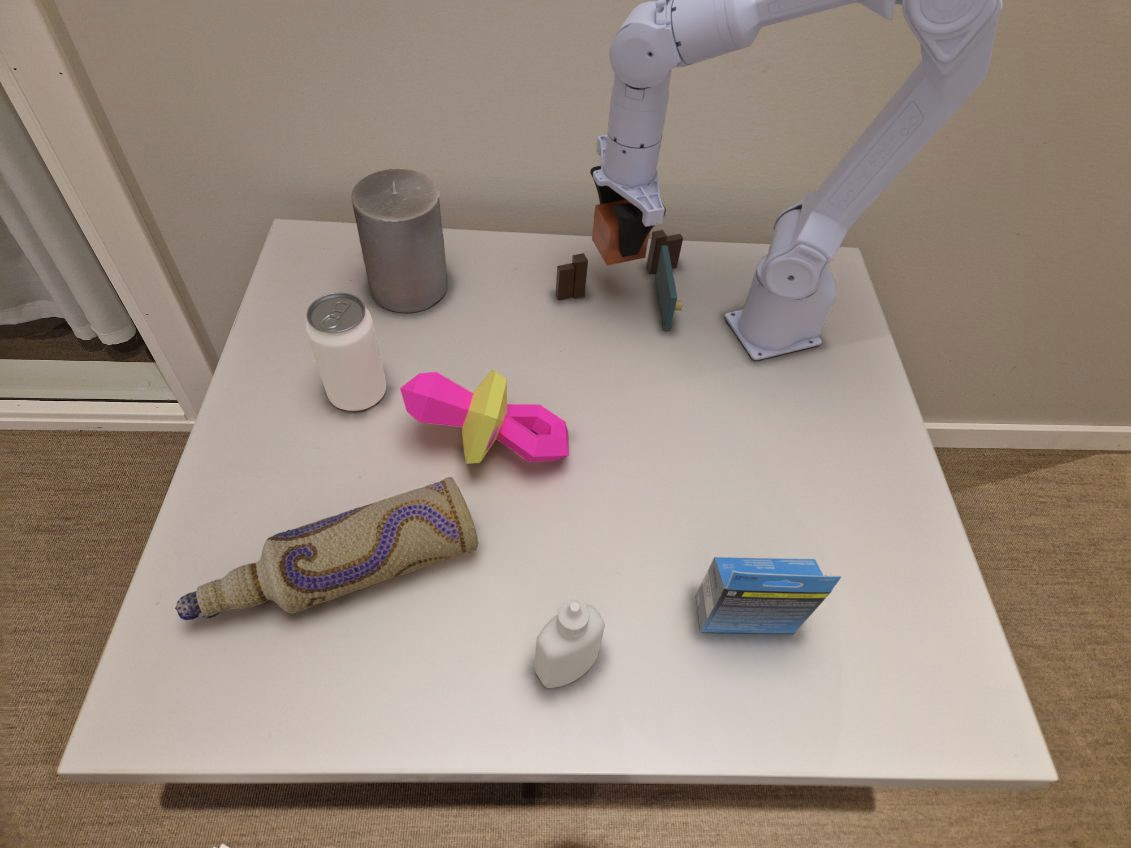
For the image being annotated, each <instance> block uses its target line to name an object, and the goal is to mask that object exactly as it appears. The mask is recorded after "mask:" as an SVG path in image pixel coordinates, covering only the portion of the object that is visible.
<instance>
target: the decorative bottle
mask: <svg viewBox="0 0 1131 848" xmlns="http://www.w3.org/2000/svg"><path fill="white" fill-rule="evenodd" d="M478 547H479V539H478V534H477V530H476V527H475V524H474V520H473V517H472V515H471V512H470V509H469V508H468V505H467V502H466V499H465V498H464V496H463V494H462V492H461V490H460V488H459V486H458V484H457V483H456V481H455V479H454V478H453V476H448V477H445V478H444V479H442V480H440V481H438V482H434V483H430V484H427V485H426V486H425V485H424V486H423V487H420V488H415V489H412V490H409V491H406V492H403V493H399V494H397V495H394V496H390V497H387V498H384V499H380V500H379V501H375V502H372V503H369V504H366V505H363V506H358V507H356V508H353V509H350V510H347V511H344V512H341V513H339V514H336V515H331V516H329V517H328V516H327V517H326V518H322V519H320V520H317V521H313V522H310V523H307V524H305V525H302V526H299V527H296V528H292V529H288V530H286V531H281V532H278V533H275V534H274V535H271V536H269V537H267V539H266V540H265V542H264V544H263V547H262V551H261V556H260V558H259V559H258V561H256V562H252V563H247V564H244V565H240V566H238V567H236V568H233V569H232V570H230V571H228V573H226V574H225V575H224V576H223V577H222V578H218V579H215V580H211V581H209V582H206V583H204V584H202V585H201V584H200V585H198V586H197V587H196V589H195V590H196V591H192V592H188V593H186V594H184V595H183V596H180V598H179V599H177V601H176V605H175V607H174V609H175V610H176V612H177V615H178V617H179V618H180V619H181V620H184V621H193V620H195V619H199V616H200V615H201V614H202V618H203V619H212V618H214V617H217V616H219V615H220V614H223V613H224V612H226V611H229V610H232V609H233V610H240V609H242V610H243V609H249V608H250V609H251V608H253V607H257V606H259V605H263V604H264V603H266V602H267V601H273V602H274V603H275V604H276V605H277V606H278V607H279V608H280V609H282V610H283V611H284V612H285V613H288V614H296V613H299V612H301V611H304V610H307V609H310V608H313V607H314V606H317V605H320V604H322V603H325V602H330V601H332V600H334V599H337V598H340V597H343V596H346V595H349V594H351V593H354V592H357V591H360V590H363V589H365V588H369V587H371V586H374V585H376V584H380V583H383V582H385V581H388V580H391V579H393V578H398V577H400V576H403V575H407V574H409V573H412V572H416V571H418V570H420V569H422V568H427V567H428V566H431V565H435V564H437V563H438V564H439V563H441V562H442V561H447V560H449V559H450V558H453V557H456V556H460V555H462V554H471V553H472V552H475V551H477V549H478Z"/></svg>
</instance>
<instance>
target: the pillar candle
mask: <svg viewBox="0 0 1131 848" xmlns="http://www.w3.org/2000/svg"><path fill="white" fill-rule="evenodd" d="M440 198H441V192H440V190H439V188H438V186H437V184H436V183H435V181H434V180H433V179H432V178H430V177H429V176H428V175H426V174H424V173H423V172H421V171H416V170H413V169H406V168H388V169H383V170H378V171H375V172H372V173H370V174H368V175H366V176H365V177H363V178H362V179H359V181H358V182H357V183H356V184H355V185H354V187H353V188H352V191H351V203H352V209H353V214H354V218H355V224H356V229H357V233H358V238H359V244H360V248H361V254H362V260H363V265H364V269H365V273H366V278H367V282H368V288H369V291H370V296H371V297H372V299H373V300H374V302H375V303H376V304H377V305H379V306H380V307H382V308H384V309H385V310H389V311H392V312H397V313H404V314H405V313H417V312H422V311H424V310H427V309H430V307H432V306H433V305H434V304H436V303H438V301H440V300H441V299H442V298H444V296H445V294H446V293H447V289H448V273H447V261H446V260H447V259H446V253H445V252H446V249H445V239H444V231H443V222H442V212H441V202H440Z"/></svg>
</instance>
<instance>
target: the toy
mask: <svg viewBox="0 0 1131 848" xmlns="http://www.w3.org/2000/svg"><path fill="white" fill-rule="evenodd" d="M399 390H400V394H401V397H402V400H403V404H404V407H405V411H406V413H408V414H409V415H410V416H411V417H413V419H415V420H416V421H417V422H418V423H420V424H430V425H439V426H449V427H458V428H460V429H461V435H462V436H461V437H462V445H463V447H462V448H463V453H464V461H465V462H464V463H465V464H467V465H468V464H480V463H481V462H482V461H483V459H484V458H485V456H486V455H487V454H488V452H489V450H490V449H491V448H492V446H493V445H494V443H495V442H496V440H497V441H498V442H499V443H501V444H503V445H504V446H505V447H506V448H508V449H510V450H511V451H512V452H514V453H516V455H518V456H519V457H521V458H522V459H524V460H525V461H527V462H528V463H541V462H557V461H559V460H562V459H564V458H567V457H569V456H570V447H569V446H570V445H569V444H570V443H569V430H568V426H567V423H566V420H564V419H562V418H561V417H559V416H558V415H556V414H555V413H553V412H552V411H550V410H549V409H547V408H546V407H544V406H543V405H541V404H540V403H537V404H536V403H535V404H533V403H532V404H530V403H528V404H527V403H526V404H525V403H524V404H522V403H521V404H518V403H511V404H510V403H508V379H507V378H506V377H504V375H502V374H501V373H499V372H498V371H497V370H495V369H493V368H492V369H491V370H490V371H489V373H488V374H487V375H486V376H485V377H484V379H483V380H482V381H481V382H480V383H479V385H477V387H476V389H475V390H474V391H473V392H472V391H470V390H468V389H467V388H465V387H464V386H462V385H460V384H458V383H456V382H455V381H453V380H451V379H449V378H448V377H446V376H445V375H443V374H441V373H440V372H438V371H429V372H419V373H418V374H416V375H415V376H414V377H412V378H411V379H410V380H408V381H407V382H406V383H404V384H403V385H402V386H401V387H400V388H399Z"/></svg>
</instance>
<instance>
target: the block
mask: <svg viewBox="0 0 1131 848" xmlns="http://www.w3.org/2000/svg"><path fill="white" fill-rule="evenodd" d="M625 203H630V202H629V201H628V200H621V201H615V202H610V203H604V204H600V203H598V204H595V205H594V212H593V213H594V214H593V223H592V233H591V241H592V242H593V244H594V246H595V247H596V250H597V252H598V253H599V255H600V256H601V258H602V261H604V264H605V265H606V266H610V265H611V266H612V265H616V264H621V263H627V262H631V261H636V260H642V259H646V256H647V250H648V245H649V239H650V234H651V231H650V232H649V234H648V236H647V237H646V239H645V241H644V243H643V245H642V247H641V249H640V251H639V253H638V254H637V255H632V256H627V257H622V255H621V254H620V248H619V226H618V221H617V218H616V215H615V212H614V210H613V205H619V204H625Z"/></svg>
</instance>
